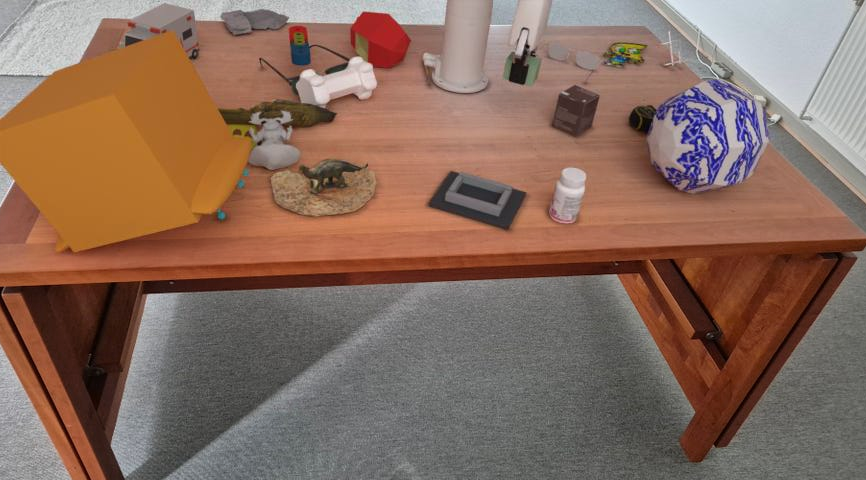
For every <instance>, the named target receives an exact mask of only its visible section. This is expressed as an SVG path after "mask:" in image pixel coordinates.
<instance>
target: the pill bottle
mask: <svg viewBox="0 0 866 480" xmlns="http://www.w3.org/2000/svg"><path fill="white" fill-rule="evenodd" d="M586 180H587V173H585V171H583V170H582V169H580V168H577V167H572V166H571V167H565V168H563V169H562V171H561V173H560V177H559V179H558V180H557V181H556V183H555V186H554V191H553V194H552V199H551V202H550V205H549V210H548V214H549V216H550V217H549V218H551V219H552V220H553V221H555V222H557V223H561V224H572V223H574V222H575V221H577V220H578V219H577V218H578V216H579V212H580V209H581V205H582V202H583V199H584V196H585V192H586V185H585V184H586Z"/></svg>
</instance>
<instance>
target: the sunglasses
mask: <svg viewBox="0 0 866 480" xmlns="http://www.w3.org/2000/svg"><path fill="white" fill-rule="evenodd" d="M309 47H310V49H311V48H313V47H317V48H320V49H322V50H324V51H327V52H329V53H331V54H333V55H335V56H337V57H339V58H341V59H342V60H344V61H346V62H344V63H340V64H337V65H334V66H333V65H332V66H331V67H329V68H327V69H325V70H323V71H321V72H320V71H319V72H316V71H315V73H316V74H318V75H322V74H324V75H328V74H332V73H336V72H339V71H343V70H345V69H346V68H347V66H348V63H349V60H350V59H351V58H348V57H347V56H345V55H343V54H340V53H339V52H336V51H335V50H332V49H330V48H328V47H325V46H322V45H319V44H311V45H309ZM258 61H259V64H260V67H261V69H264V66H263V63H265V64H266V65H267V66H268V67H269V68H271V69H272V70H273V71H274V72H275V73H276V74H277V75H278V76H279V77H281V78H282V79H283V80H284V81H285V82H286V83H287V84H288V85H289V87H291V92H292V94H294V95H295V96H297V97H300V96H299V93H298V90H297V89H296V83H297V82H298V81H299V79H300V74H299V75H295V76H292V77H286V76H285V75H284V74H282V73H281V72H280V71H279V70H278V69H276V67H274V66H273V65H271V63H269V62H268V61H267V60H265V59H264V58H262V57H259V59H258ZM262 62H263V63H262Z"/></svg>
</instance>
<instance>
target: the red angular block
mask: <svg viewBox="0 0 866 480" xmlns="http://www.w3.org/2000/svg"><path fill="white" fill-rule="evenodd" d="M349 29H350V33H349V34H350V35H349V37H350V38H349V39H350V46H351V47H352V48H353V49H354V50H355V52H356V53H357V54H358V56H359V57H362V59H363V61H365V62H367V63H371V64H372V65H373V67H377V68H390V69H391V68H393V67H394V66H396V65H398V64H399V63H401V62H403V61H404V59H405V57H406V55H407V52H408V50H409V47H410V45H411V42H412V39H411V38H410V36H409V35H408V34H407V33H406V31H405V30H404V28H403V27H402V26H401V25H400V23H398V21H397V20H396V19H395V18H394V17H393V16H392V15H391V14H389V13H383V12H375V11H374V12H373V11H362V12H361V13H360V15H359V16H357V17H356V19H355V21H354V22H353V23H352V25H351V26H350V28H349Z"/></svg>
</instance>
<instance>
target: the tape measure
mask: <svg viewBox="0 0 866 480" xmlns="http://www.w3.org/2000/svg"><path fill="white" fill-rule="evenodd" d="M657 109H658V108H657ZM657 109H656V107H654V106H653V105H652V104H648V105H637V106H636V107H634V108H633V109H632V110H631V112H630V114H629V118H628V121H629V125H630V126H631V127H632V128H633V129H635V130H636V131H637V132H638V131H639V132H641V133H644V134H648V131H649V128H650V126H651V123H652V120H653V117H654V114H655V112H656V111H657Z"/></svg>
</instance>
